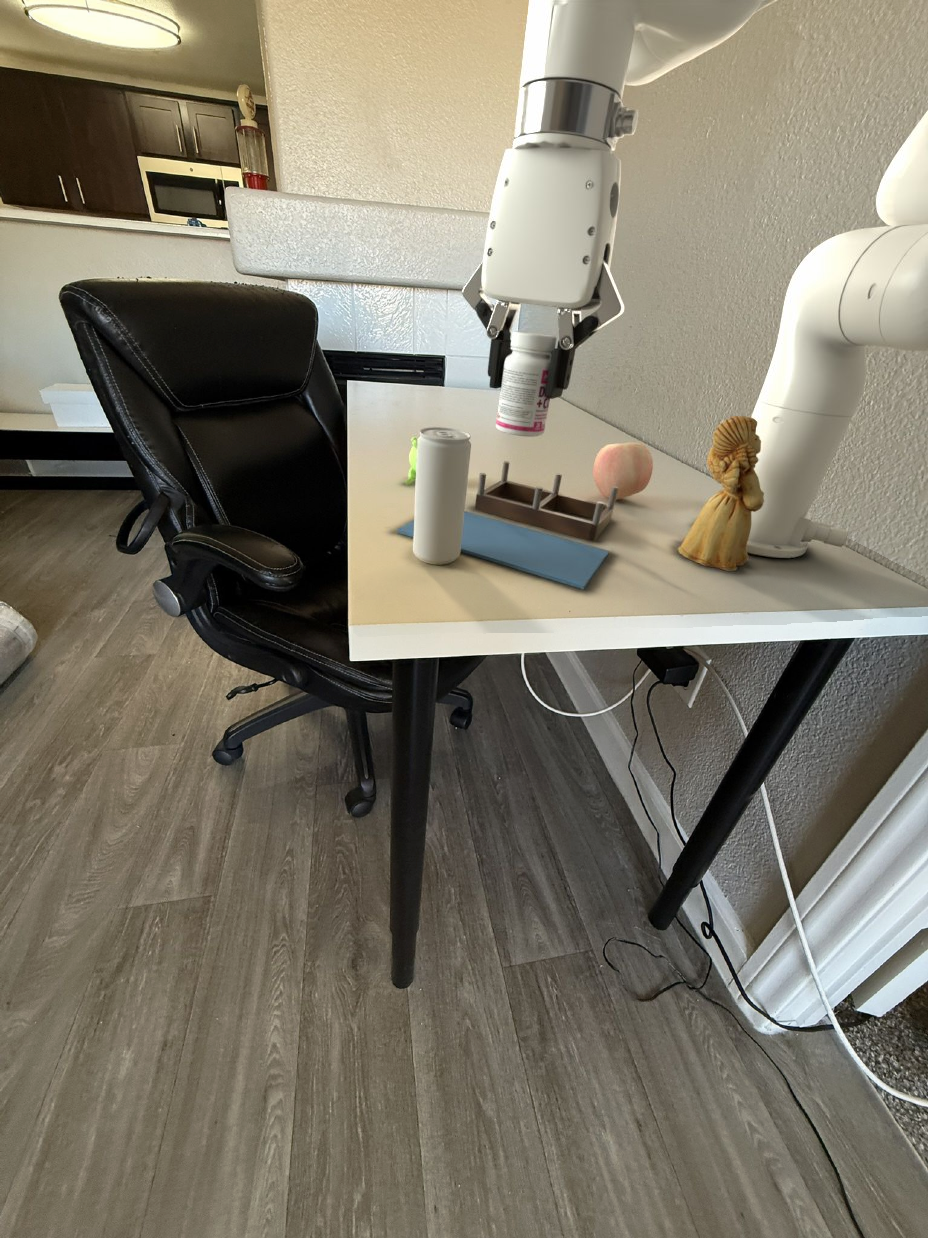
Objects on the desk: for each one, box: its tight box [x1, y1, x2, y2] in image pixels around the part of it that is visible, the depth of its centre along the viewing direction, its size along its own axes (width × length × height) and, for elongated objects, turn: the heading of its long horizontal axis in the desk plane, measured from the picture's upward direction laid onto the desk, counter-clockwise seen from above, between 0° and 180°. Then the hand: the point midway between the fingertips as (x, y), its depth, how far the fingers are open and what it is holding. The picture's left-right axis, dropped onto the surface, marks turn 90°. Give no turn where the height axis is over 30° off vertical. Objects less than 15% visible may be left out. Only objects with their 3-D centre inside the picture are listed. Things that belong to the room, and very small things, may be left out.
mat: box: [397, 510, 610, 590], centre depth 57 cm, size 21×10×1 cm, turn 63°
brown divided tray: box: [474, 460, 619, 542], centre depth 64 cm, size 15×8×4 cm, turn 63°
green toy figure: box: [405, 436, 418, 486], centre depth 72 cm, size 6×5×6 cm
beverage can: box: [412, 426, 472, 566], centre depth 49 cm, size 5×5×12 cm
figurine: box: [677, 415, 764, 572], centre depth 55 cm, size 8×8×15 cm
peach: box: [592, 442, 654, 501], centre depth 72 cm, size 8×8×8 cm
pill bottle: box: [495, 330, 557, 438], centre depth 48 cm, size 5×5×8 cm
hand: (525, 389), depth 49 cm, fingers closed on pill bottle, 4 cm apart
